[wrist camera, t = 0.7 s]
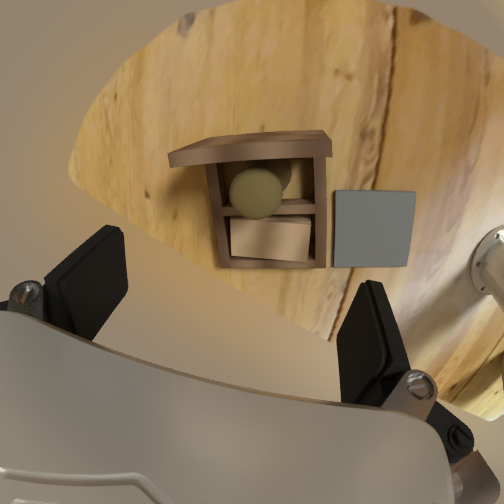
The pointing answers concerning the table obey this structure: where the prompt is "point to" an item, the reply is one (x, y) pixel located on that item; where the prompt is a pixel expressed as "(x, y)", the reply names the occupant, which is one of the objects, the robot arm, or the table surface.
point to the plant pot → (503, 366)
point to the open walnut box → (274, 148)
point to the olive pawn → (260, 187)
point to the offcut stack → (271, 237)
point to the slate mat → (373, 227)
